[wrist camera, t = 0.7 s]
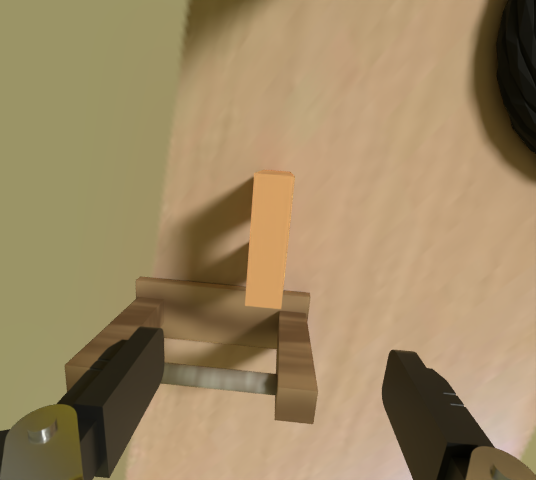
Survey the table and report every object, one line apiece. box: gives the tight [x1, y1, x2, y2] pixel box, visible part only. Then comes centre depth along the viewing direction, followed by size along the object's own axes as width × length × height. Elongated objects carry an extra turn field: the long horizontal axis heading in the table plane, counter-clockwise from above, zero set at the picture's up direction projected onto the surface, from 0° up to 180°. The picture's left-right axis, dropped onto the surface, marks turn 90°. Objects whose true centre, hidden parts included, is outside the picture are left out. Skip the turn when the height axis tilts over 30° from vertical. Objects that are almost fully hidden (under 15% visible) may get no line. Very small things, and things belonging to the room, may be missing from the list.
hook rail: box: [65, 277, 318, 424], centre depth 30 cm, size 7×20×14 cm, turn 85°
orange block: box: [245, 170, 295, 309], centre depth 28 cm, size 10×3×12 cm, turn 175°
